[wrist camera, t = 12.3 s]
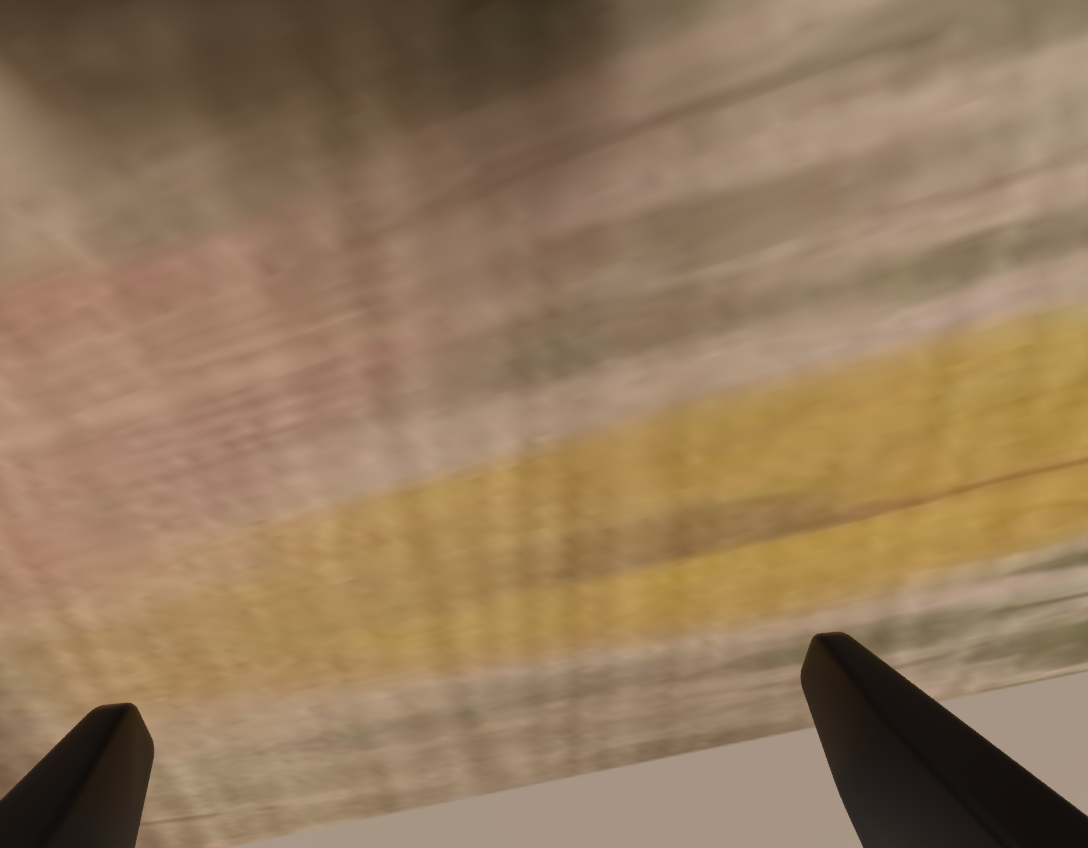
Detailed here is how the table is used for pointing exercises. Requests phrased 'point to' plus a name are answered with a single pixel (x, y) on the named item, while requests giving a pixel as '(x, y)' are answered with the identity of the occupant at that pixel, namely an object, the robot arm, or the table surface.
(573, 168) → the table surface
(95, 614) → the table surface
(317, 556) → the table surface
